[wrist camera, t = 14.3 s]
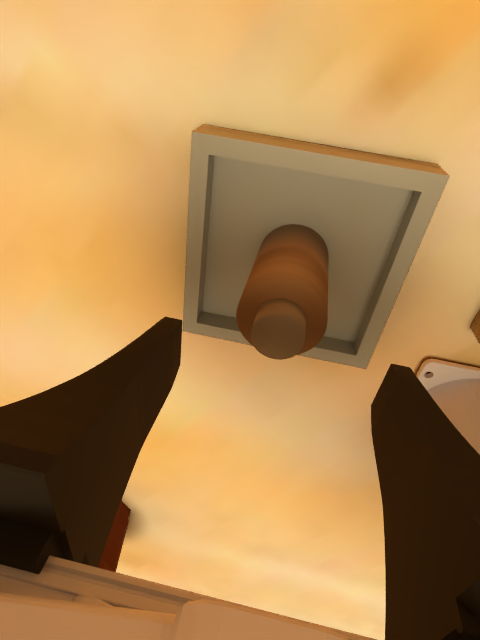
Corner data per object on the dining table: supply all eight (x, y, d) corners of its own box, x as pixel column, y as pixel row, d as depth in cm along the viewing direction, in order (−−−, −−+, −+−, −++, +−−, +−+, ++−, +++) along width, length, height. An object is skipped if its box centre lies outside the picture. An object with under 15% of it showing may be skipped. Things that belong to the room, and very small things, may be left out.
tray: (362, 347, 24) (365, 369, 22) (191, 312, 24) (182, 330, 23) (437, 164, 17) (449, 175, 16) (203, 124, 18) (192, 131, 16)
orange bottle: (323, 291, 21) (320, 381, 15) (257, 284, 21) (229, 368, 15) (333, 227, 19) (334, 301, 13) (260, 221, 19) (229, 290, 13)
